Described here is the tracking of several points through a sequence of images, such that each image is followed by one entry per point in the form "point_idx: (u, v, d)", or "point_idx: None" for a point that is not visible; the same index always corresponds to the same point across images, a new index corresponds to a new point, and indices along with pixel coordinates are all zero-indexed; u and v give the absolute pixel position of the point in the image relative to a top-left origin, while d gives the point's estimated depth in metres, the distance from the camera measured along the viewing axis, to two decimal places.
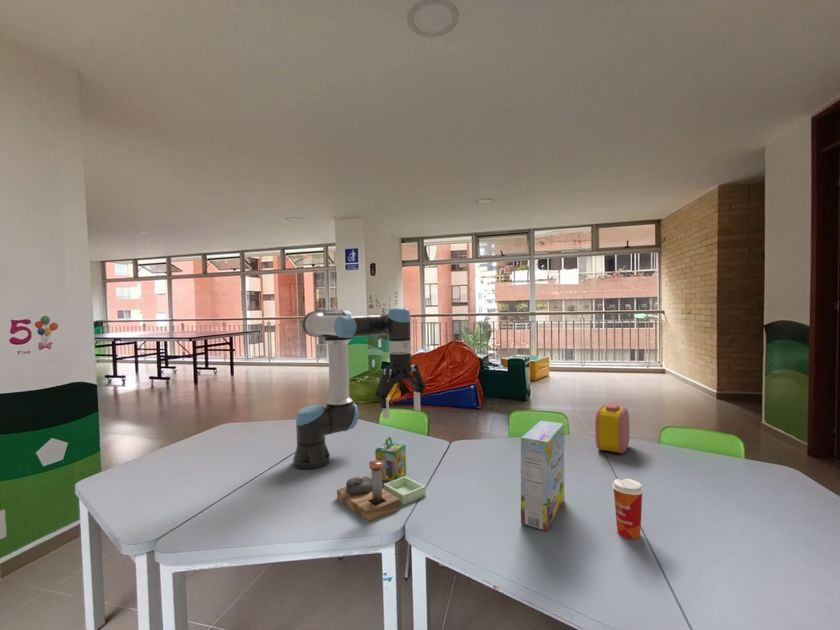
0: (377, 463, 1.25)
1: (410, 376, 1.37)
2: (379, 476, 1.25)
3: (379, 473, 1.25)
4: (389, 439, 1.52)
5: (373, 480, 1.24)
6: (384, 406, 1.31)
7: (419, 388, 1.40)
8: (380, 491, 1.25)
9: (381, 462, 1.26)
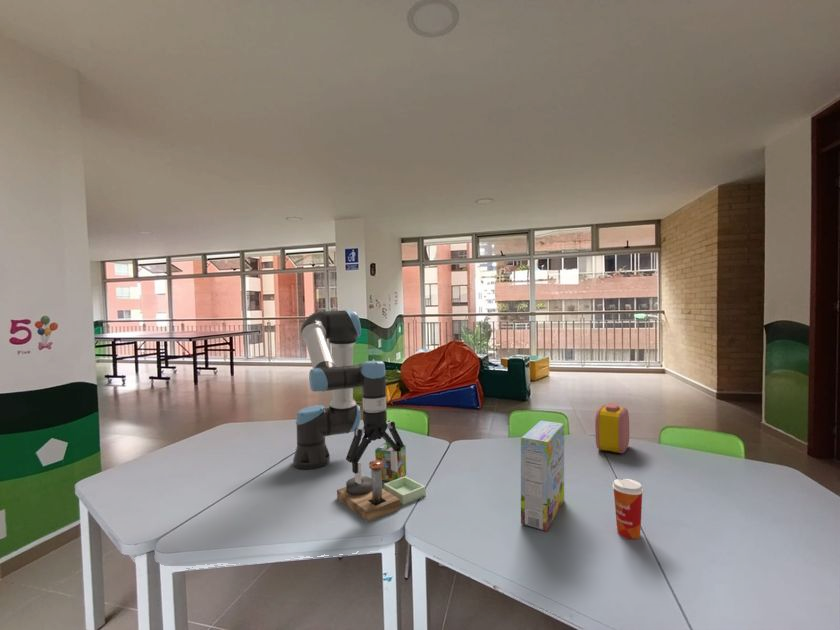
0: (377, 463, 1.25)
1: (385, 435, 1.26)
2: (379, 476, 1.25)
3: (379, 473, 1.25)
4: None
5: (373, 480, 1.24)
6: (356, 471, 1.20)
7: (396, 447, 1.29)
8: (380, 491, 1.25)
9: (381, 462, 1.26)
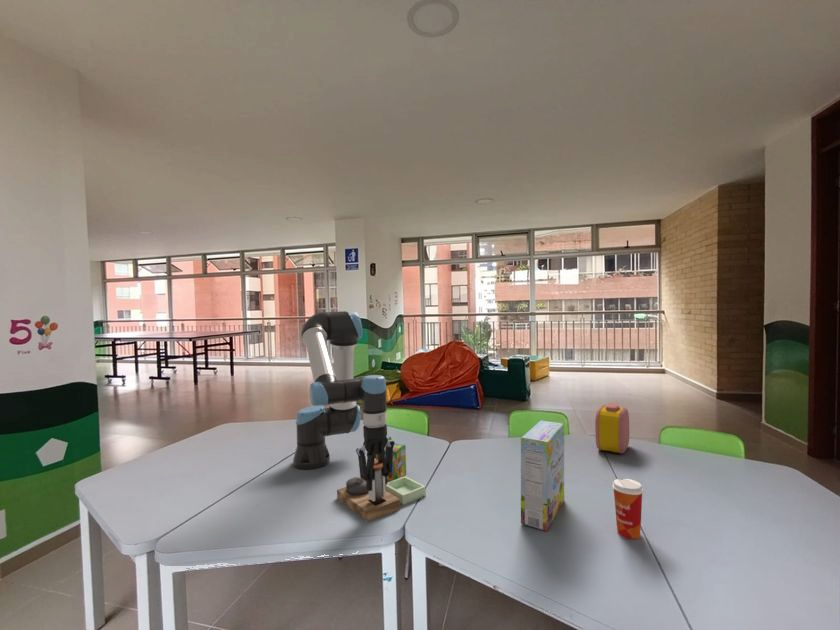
0: (377, 463, 1.25)
1: (383, 452, 1.25)
2: (379, 476, 1.25)
3: (379, 473, 1.25)
4: (389, 439, 1.52)
5: None
6: (370, 488, 1.23)
7: (385, 471, 1.26)
8: (380, 491, 1.25)
9: (381, 462, 1.26)
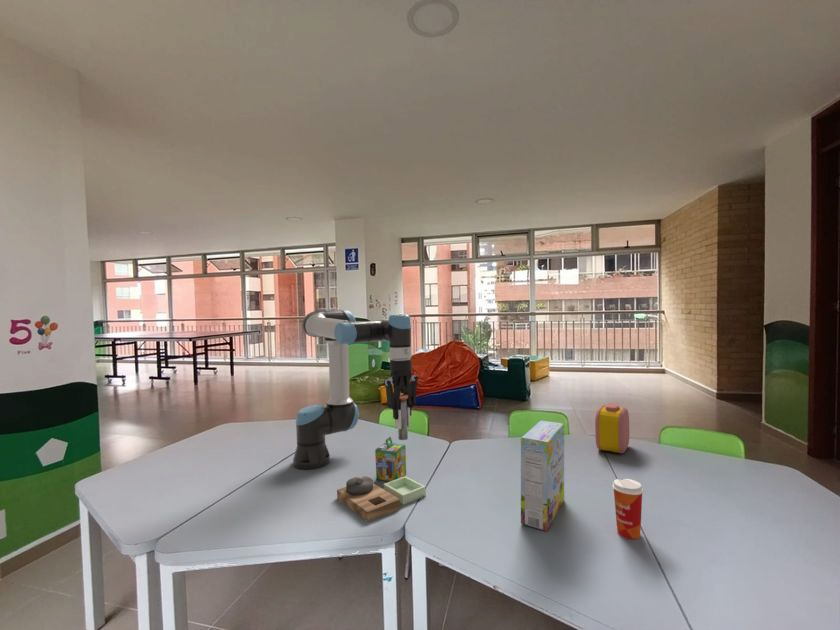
0: (402, 395, 1.35)
1: (408, 384, 1.36)
2: (405, 406, 1.35)
3: (405, 403, 1.35)
4: (389, 439, 1.52)
5: None
6: (396, 417, 1.34)
7: (410, 402, 1.37)
8: (406, 420, 1.35)
9: (406, 394, 1.36)
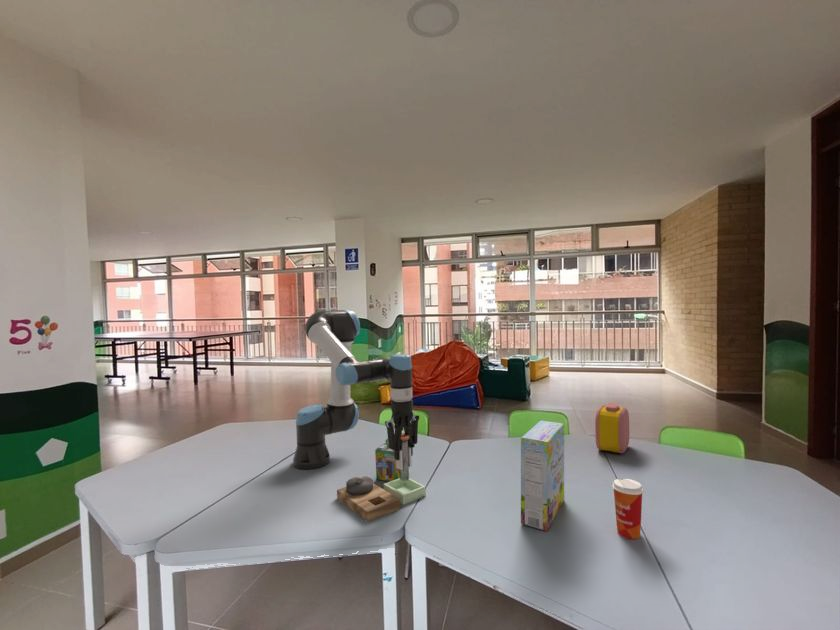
0: (404, 435, 1.35)
1: (409, 425, 1.36)
2: (406, 447, 1.35)
3: (406, 444, 1.35)
4: None
5: None
6: (398, 458, 1.34)
7: (411, 442, 1.37)
8: (407, 461, 1.35)
9: (407, 434, 1.36)
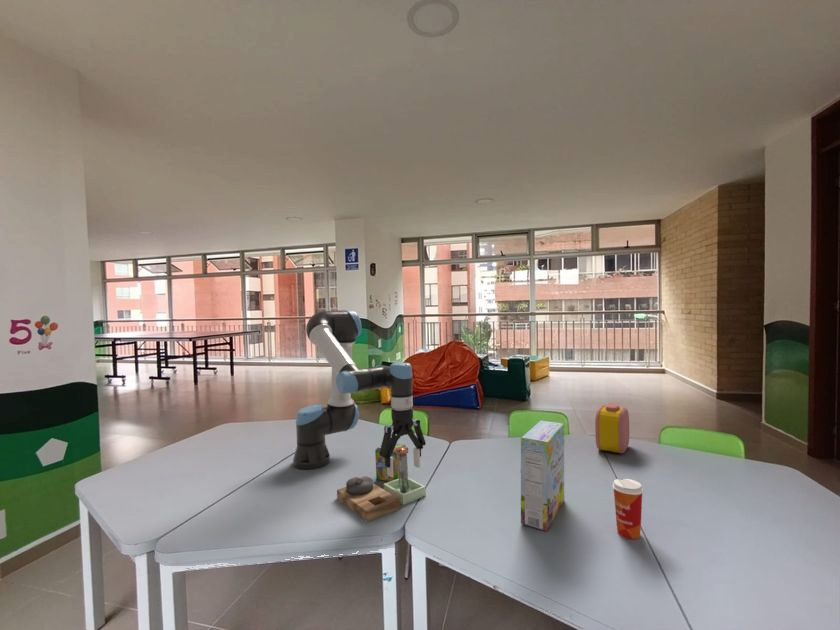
0: (402, 449, 1.35)
1: (411, 432, 1.36)
2: (405, 461, 1.35)
3: (405, 458, 1.35)
4: None
5: (399, 465, 1.35)
6: (388, 465, 1.31)
7: (419, 444, 1.39)
8: (406, 474, 1.35)
9: (406, 448, 1.36)
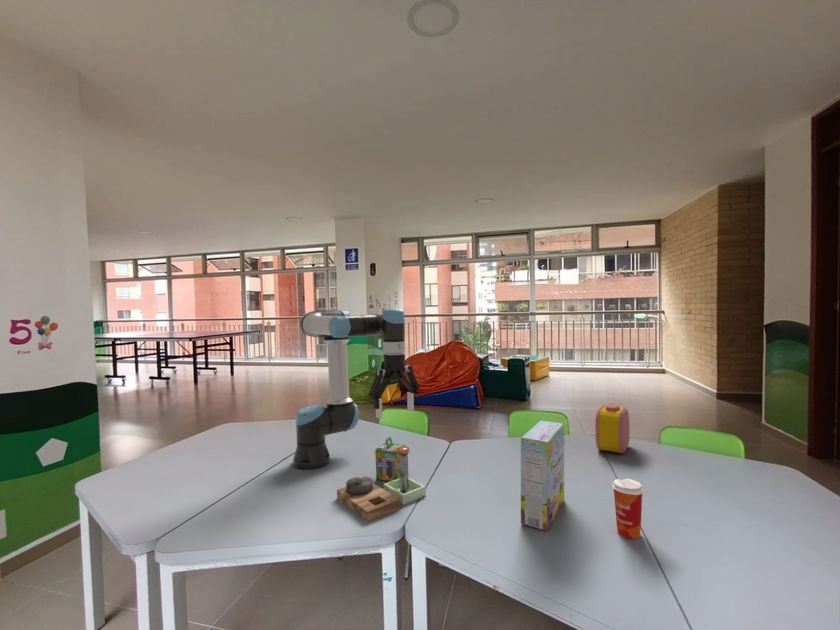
0: (403, 448, 1.36)
1: (404, 377, 1.37)
2: (406, 460, 1.35)
3: (406, 457, 1.35)
4: (389, 439, 1.52)
5: (400, 464, 1.35)
6: (377, 406, 1.32)
7: (413, 389, 1.41)
8: (407, 474, 1.35)
9: (407, 447, 1.37)
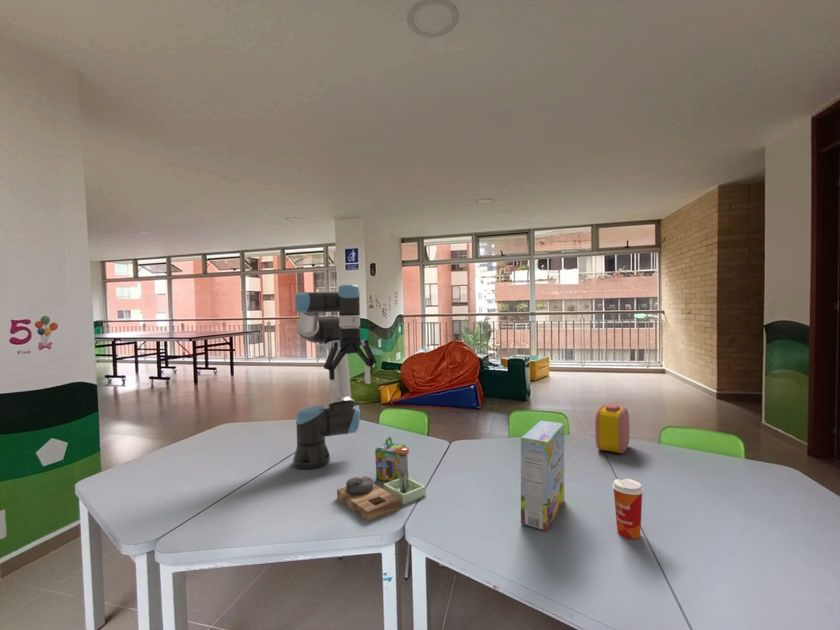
0: (403, 449, 1.35)
1: (359, 350, 1.43)
2: (405, 461, 1.35)
3: (405, 458, 1.35)
4: (389, 439, 1.52)
5: (400, 465, 1.35)
6: (332, 377, 1.37)
7: (369, 362, 1.46)
8: (407, 475, 1.35)
9: (407, 448, 1.36)
